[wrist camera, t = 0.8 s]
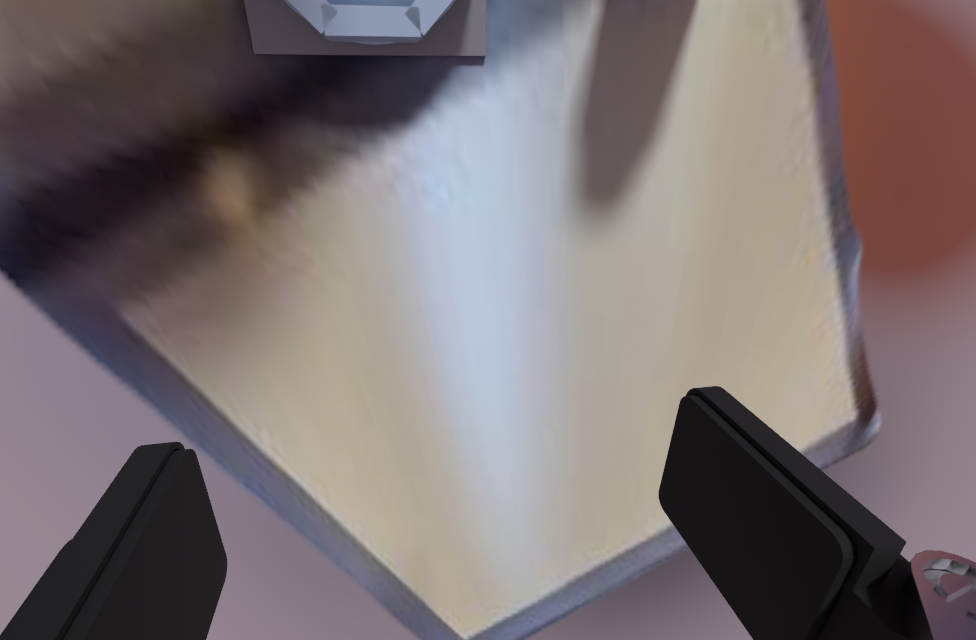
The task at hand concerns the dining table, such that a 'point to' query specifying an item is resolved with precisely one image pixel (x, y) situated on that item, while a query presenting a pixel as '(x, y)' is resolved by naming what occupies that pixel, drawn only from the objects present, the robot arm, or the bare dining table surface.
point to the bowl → (371, 19)
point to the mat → (293, 35)
